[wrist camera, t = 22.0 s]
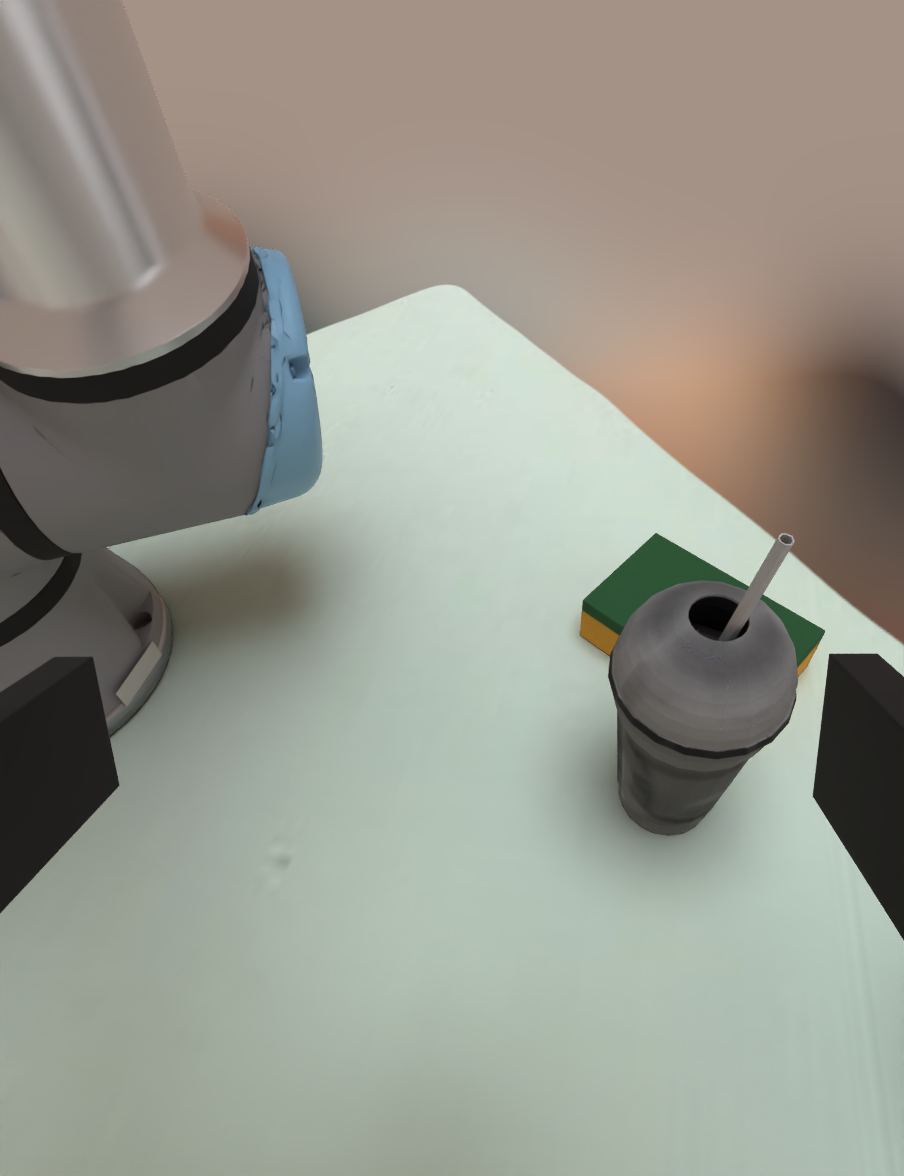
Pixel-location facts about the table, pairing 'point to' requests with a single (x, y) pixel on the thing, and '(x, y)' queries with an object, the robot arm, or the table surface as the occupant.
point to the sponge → (661, 570)
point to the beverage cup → (698, 694)
